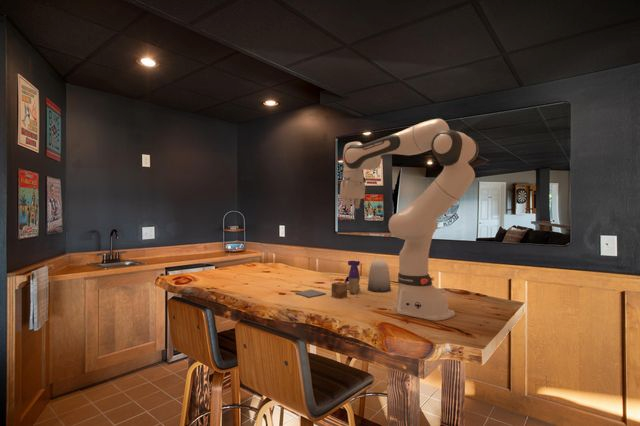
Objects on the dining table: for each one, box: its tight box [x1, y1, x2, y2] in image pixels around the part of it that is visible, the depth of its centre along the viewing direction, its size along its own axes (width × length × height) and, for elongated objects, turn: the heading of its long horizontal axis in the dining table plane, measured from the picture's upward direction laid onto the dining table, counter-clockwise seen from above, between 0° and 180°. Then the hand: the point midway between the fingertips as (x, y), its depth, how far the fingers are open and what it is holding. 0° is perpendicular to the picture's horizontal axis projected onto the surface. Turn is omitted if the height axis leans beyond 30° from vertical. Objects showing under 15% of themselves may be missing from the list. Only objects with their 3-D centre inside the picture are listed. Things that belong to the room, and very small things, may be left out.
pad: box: [295, 289, 327, 299], centre depth 168 cm, size 10×10×1 cm
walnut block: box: [331, 281, 348, 300], centre depth 164 cm, size 5×5×6 cm
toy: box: [367, 258, 392, 293], centre depth 177 cm, size 11×11×15 cm
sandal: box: [343, 260, 361, 295], centre depth 177 cm, size 8×20×15 cm, turn 174°
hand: (352, 208), depth 165 cm, fingers open, 8 cm apart
